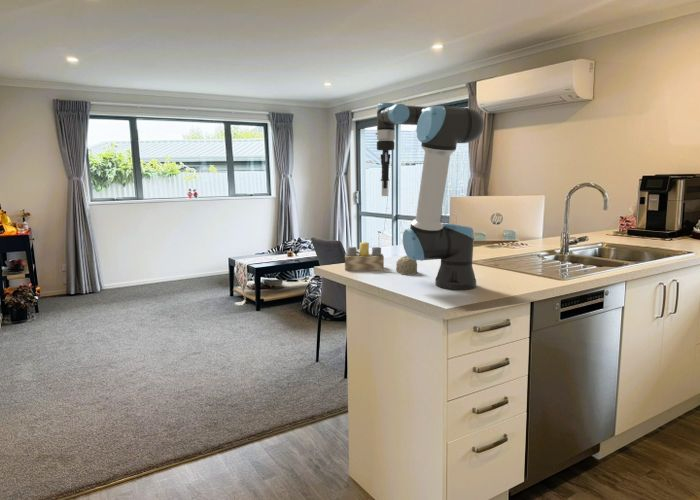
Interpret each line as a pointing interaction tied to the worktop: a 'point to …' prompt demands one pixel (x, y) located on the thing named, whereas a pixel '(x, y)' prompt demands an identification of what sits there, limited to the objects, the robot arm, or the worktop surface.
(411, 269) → the sponge
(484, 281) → the worktop surface
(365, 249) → the mustard plug
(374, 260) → the socket block
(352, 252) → the grey plug
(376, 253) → the grey plug
